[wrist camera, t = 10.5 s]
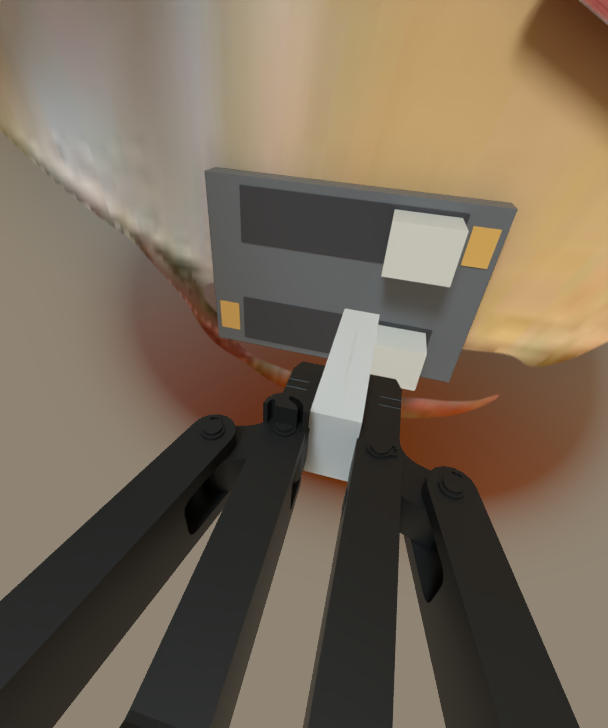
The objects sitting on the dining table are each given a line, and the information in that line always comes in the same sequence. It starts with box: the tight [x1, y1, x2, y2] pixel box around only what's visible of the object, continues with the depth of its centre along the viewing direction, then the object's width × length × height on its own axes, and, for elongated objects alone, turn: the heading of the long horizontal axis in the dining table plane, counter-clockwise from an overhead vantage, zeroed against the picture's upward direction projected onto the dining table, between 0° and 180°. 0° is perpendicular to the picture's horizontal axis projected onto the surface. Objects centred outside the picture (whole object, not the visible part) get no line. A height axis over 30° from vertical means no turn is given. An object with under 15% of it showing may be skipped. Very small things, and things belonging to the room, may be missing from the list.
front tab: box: [381, 209, 469, 287], centre depth 27 cm, size 5×4×4 cm
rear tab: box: [370, 325, 427, 391], centre depth 33 cm, size 5×4×4 cm
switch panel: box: [205, 167, 517, 382], centre depth 33 cm, size 24×16×2 cm, turn 86°
